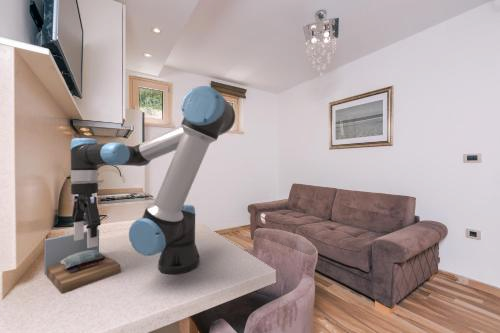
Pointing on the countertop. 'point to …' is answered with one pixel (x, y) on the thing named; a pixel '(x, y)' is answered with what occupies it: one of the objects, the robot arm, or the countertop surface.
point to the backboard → (64, 248)
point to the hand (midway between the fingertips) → (85, 243)
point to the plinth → (81, 274)
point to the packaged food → (82, 260)
